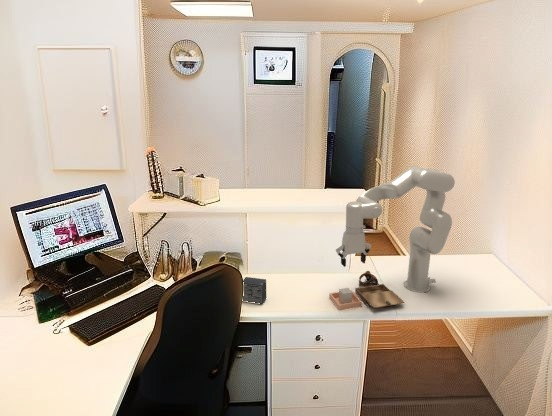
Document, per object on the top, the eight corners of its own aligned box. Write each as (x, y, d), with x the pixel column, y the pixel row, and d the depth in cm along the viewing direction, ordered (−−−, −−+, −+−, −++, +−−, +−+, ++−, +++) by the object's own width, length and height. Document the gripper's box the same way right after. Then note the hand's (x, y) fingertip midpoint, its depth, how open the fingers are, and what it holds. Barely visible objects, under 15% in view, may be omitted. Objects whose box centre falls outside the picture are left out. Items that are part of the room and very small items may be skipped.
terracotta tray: (350, 295, 206) (351, 290, 205) (361, 307, 196) (361, 301, 195) (329, 299, 203) (329, 293, 202) (338, 311, 193) (339, 305, 192)
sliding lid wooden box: (383, 289, 212) (383, 282, 210) (404, 309, 194) (405, 301, 193) (354, 294, 207) (355, 286, 206) (373, 314, 190) (374, 306, 189)
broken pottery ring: (381, 291, 211) (376, 280, 207) (363, 297, 213) (357, 286, 209) (377, 275, 221) (371, 264, 217) (360, 281, 223) (354, 270, 219)
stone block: (347, 299, 202) (348, 287, 200) (351, 303, 198) (352, 292, 196) (338, 300, 201) (339, 289, 199) (342, 305, 196) (343, 293, 195)
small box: (267, 298, 204) (266, 278, 201) (263, 305, 198) (262, 285, 195) (246, 295, 207) (245, 276, 204) (241, 302, 201) (241, 282, 198)
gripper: (367, 223, 195) (366, 257, 201) (332, 228, 191) (332, 263, 196) (375, 229, 189) (374, 264, 194) (339, 234, 184) (339, 270, 190)
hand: (353, 263), depth 195 cm, fingers open, 9 cm apart
